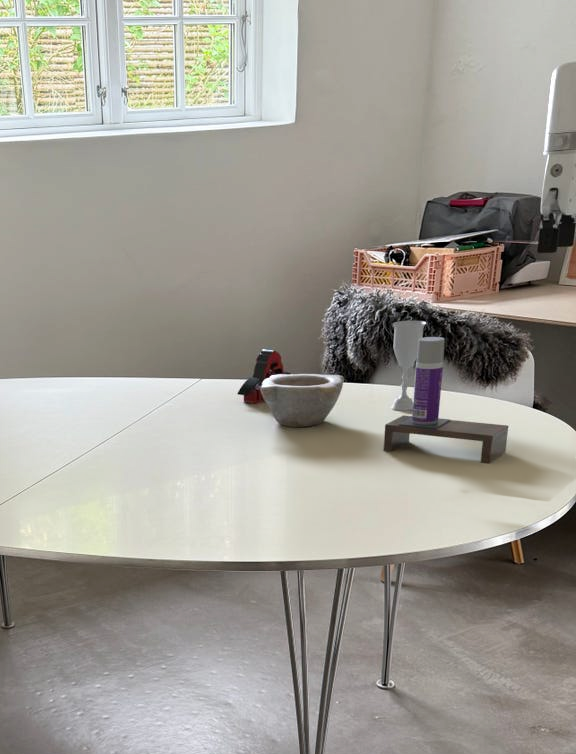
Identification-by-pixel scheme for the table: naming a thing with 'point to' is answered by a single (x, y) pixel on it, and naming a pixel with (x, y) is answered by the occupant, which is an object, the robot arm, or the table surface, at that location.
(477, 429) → the shelf
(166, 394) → the table surface
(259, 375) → the red black angled piece
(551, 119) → the robot arm
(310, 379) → the mortar
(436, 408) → the container
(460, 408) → the table surface
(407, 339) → the chalice
